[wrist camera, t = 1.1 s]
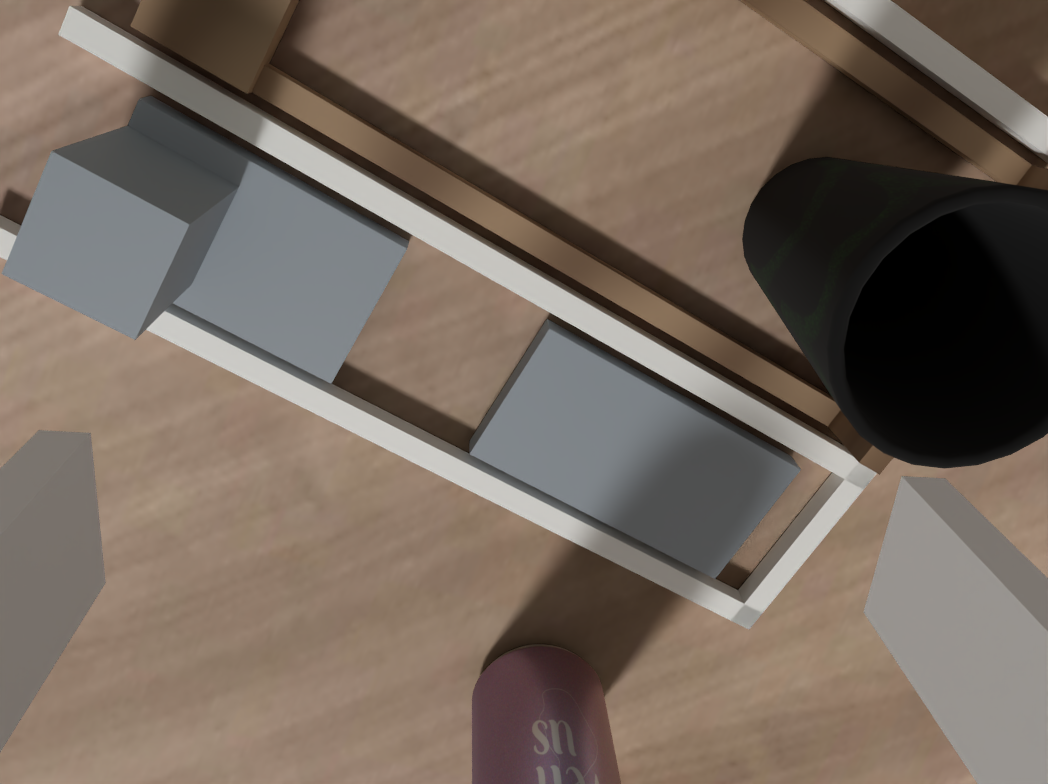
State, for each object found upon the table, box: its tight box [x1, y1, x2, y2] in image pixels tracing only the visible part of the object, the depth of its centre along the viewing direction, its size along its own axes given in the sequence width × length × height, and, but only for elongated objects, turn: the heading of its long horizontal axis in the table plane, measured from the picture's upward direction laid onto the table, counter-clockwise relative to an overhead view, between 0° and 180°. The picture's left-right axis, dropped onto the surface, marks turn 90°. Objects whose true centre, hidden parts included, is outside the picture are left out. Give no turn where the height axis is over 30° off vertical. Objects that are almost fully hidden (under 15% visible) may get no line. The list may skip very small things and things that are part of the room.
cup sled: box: [131, 0, 1048, 475], centre depth 28 cm, size 30×12×8 cm, turn 59°
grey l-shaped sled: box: [2, 96, 409, 383], centre depth 30 cm, size 10×6×7 cm, turn 59°
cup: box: [742, 157, 1048, 468], centre depth 29 cm, size 8×8×12 cm
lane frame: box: [0, 0, 1048, 629], centre depth 33 cm, size 34×23×1 cm
